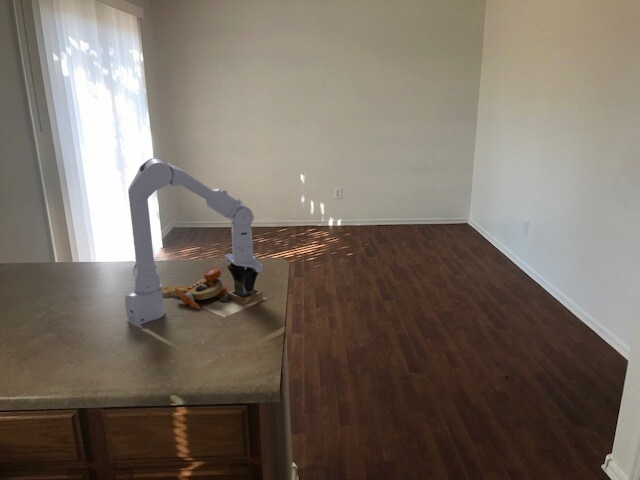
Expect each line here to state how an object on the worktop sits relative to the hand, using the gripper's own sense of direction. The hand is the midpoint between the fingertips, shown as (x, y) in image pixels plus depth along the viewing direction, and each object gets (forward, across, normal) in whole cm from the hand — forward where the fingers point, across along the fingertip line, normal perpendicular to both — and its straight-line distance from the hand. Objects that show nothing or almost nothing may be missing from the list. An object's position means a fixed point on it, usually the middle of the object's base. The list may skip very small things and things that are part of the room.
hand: (245, 288), depth 150 cm
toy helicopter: (0, +16, +4) cm, 16 cm away
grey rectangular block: (+3, 0, 0) cm, 3 cm away
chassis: (+4, 0, +4) cm, 6 cm away
